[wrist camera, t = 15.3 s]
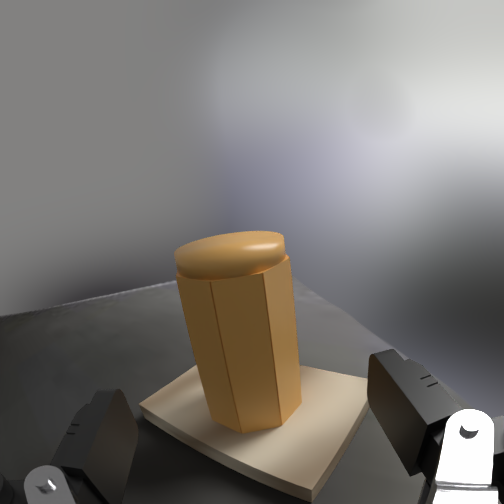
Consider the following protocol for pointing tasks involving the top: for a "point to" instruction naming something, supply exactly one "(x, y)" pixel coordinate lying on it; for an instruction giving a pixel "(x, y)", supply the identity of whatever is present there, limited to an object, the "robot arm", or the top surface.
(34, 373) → the top surface
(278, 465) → the post board
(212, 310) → the octagonal lidded canister
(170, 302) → the top surface
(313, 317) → the top surface
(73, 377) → the top surface
